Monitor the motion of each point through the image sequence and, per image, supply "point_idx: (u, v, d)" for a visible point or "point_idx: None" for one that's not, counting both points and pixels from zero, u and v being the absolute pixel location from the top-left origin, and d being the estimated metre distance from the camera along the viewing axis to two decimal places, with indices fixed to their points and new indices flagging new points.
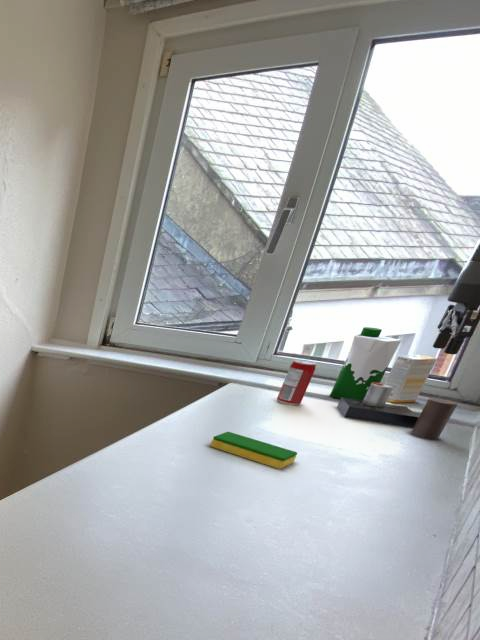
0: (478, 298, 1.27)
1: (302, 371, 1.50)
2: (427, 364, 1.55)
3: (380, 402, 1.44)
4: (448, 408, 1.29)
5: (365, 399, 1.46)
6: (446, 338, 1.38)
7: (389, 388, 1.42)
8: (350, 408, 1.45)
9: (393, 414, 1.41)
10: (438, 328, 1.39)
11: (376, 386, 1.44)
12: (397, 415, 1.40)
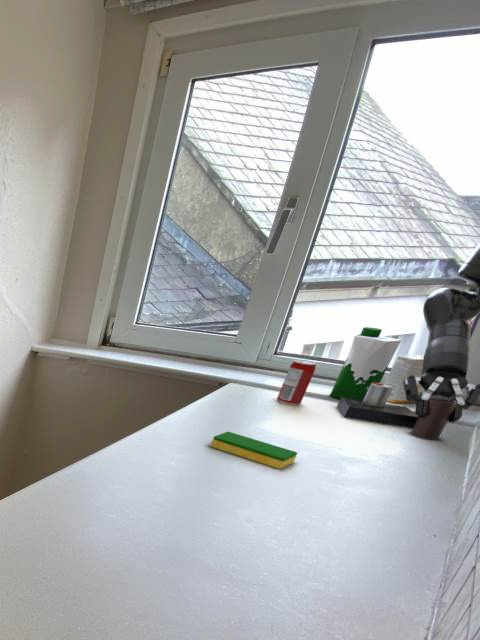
0: (424, 367, 1.36)
1: (302, 371, 1.50)
2: None
3: (380, 402, 1.44)
4: (448, 408, 1.29)
5: (365, 399, 1.46)
6: None
7: (389, 388, 1.42)
8: (350, 408, 1.45)
9: (393, 414, 1.41)
10: (463, 408, 1.31)
11: (376, 386, 1.44)
12: (397, 415, 1.40)
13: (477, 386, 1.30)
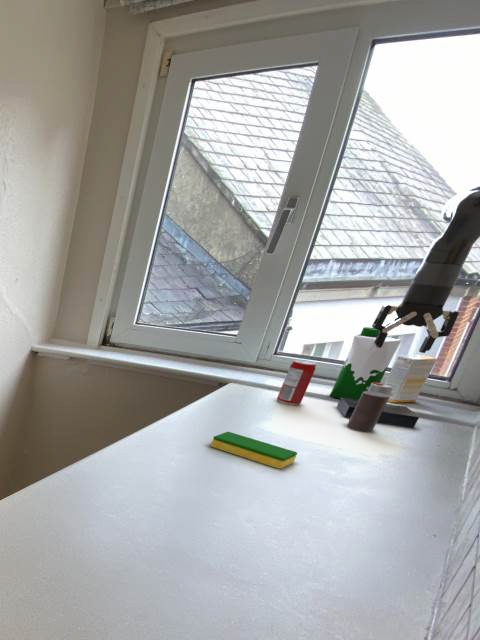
0: (406, 295, 1.36)
1: (302, 371, 1.50)
2: (427, 364, 1.55)
3: None
4: (380, 401, 1.32)
5: None
6: (425, 342, 1.37)
7: (389, 388, 1.42)
8: (350, 408, 1.45)
9: (393, 414, 1.41)
10: None
11: (376, 386, 1.44)
12: (397, 415, 1.40)
13: (452, 315, 1.32)
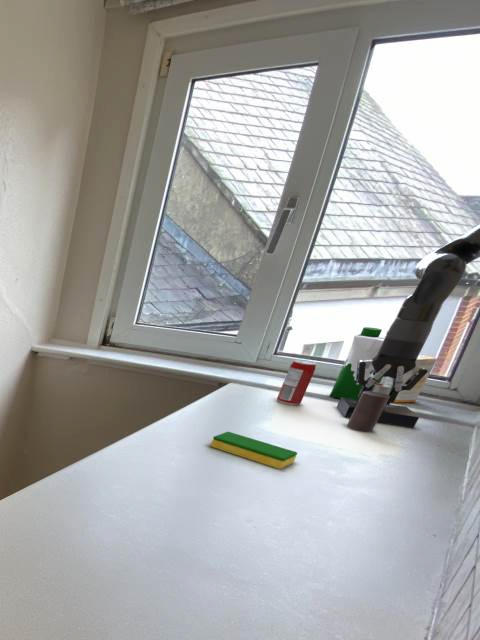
0: (380, 348, 1.42)
1: (302, 371, 1.50)
2: (427, 364, 1.55)
3: None
4: (380, 401, 1.32)
5: None
6: None
7: (389, 388, 1.42)
8: (350, 408, 1.45)
9: (393, 414, 1.41)
10: None
11: (376, 386, 1.44)
12: (397, 415, 1.40)
13: (421, 371, 1.39)
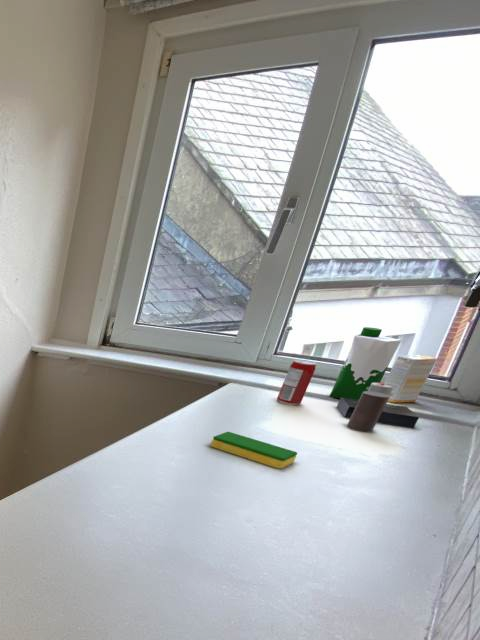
0: None
1: (302, 371, 1.50)
2: (427, 364, 1.55)
3: None
4: (380, 401, 1.32)
5: None
6: None
7: (373, 385, 1.44)
8: (350, 408, 1.45)
9: (393, 414, 1.41)
10: None
11: None
12: (397, 415, 1.40)
13: None
